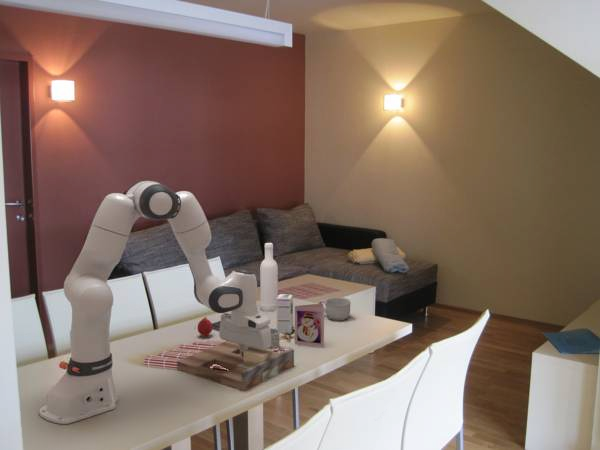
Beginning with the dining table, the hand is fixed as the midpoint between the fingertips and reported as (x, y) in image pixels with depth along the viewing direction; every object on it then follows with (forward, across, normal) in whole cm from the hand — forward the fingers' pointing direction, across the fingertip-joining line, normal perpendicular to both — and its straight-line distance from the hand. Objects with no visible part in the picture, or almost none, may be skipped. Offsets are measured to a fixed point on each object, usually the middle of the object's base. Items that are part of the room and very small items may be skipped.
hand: (244, 356), depth 213 cm
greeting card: (+5, +4, +35) cm, 35 cm away
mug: (+5, -6, +20) cm, 21 cm away
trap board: (+5, -4, 0) cm, 6 cm away
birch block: (+2, +6, 0) cm, 6 cm away
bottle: (+5, -37, +61) cm, 72 cm away
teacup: (+5, -6, +67) cm, 67 cm away
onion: (+5, -35, +17) cm, 39 cm away
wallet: (+6, -35, +35) cm, 50 cm away
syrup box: (+5, -13, +41) cm, 43 cm away
